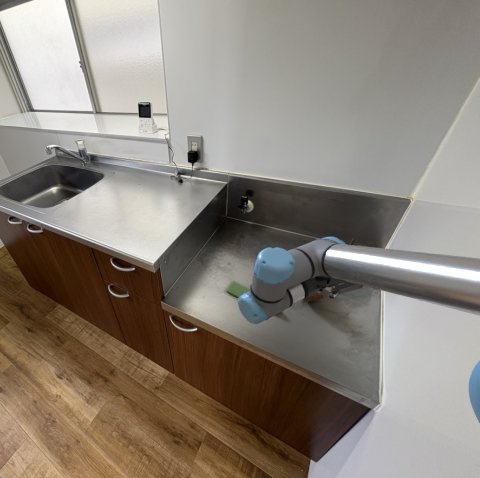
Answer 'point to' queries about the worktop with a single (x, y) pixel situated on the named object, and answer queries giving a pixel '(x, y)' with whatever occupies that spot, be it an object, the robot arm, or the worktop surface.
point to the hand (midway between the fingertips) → (355, 255)
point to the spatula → (237, 289)
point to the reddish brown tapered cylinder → (314, 297)
